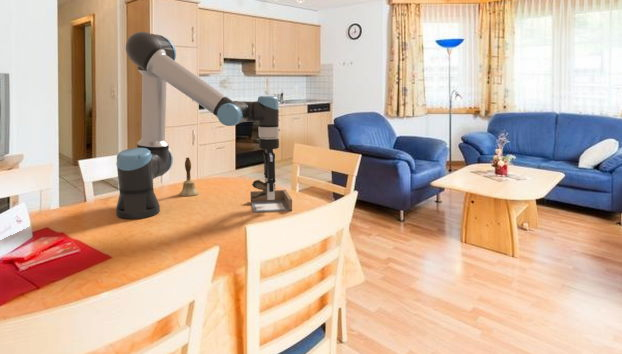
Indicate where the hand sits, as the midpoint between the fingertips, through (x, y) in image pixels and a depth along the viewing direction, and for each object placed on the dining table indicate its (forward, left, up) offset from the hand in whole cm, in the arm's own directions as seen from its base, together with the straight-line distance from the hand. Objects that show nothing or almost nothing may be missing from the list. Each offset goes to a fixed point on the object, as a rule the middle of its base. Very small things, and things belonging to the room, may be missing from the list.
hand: (269, 196), depth 168 cm
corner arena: (0, +3, -5) cm, 5 cm away
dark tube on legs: (-2, +1, 0) cm, 2 cm away
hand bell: (-32, +28, -5) cm, 42 cm away
